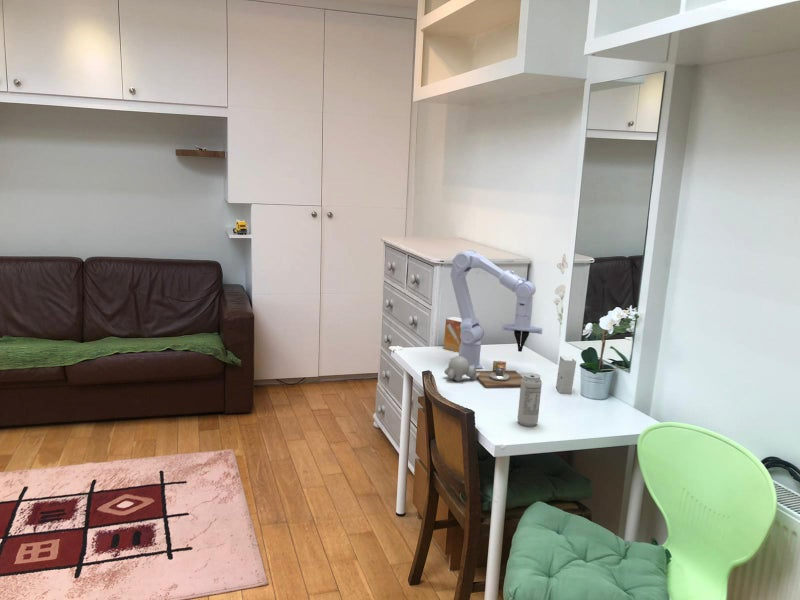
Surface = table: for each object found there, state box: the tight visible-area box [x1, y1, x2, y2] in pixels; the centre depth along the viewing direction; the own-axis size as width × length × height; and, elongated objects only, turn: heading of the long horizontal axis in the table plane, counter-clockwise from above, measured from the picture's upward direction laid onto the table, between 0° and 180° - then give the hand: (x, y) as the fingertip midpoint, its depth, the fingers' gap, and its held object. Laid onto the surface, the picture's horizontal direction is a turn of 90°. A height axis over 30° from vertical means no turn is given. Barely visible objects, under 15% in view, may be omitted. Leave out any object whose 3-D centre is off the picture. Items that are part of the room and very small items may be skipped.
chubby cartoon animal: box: [444, 355, 479, 382], centre depth 240 cm, size 7×12×8 cm, turn 98°
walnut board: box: [475, 360, 524, 389], centre depth 242 cm, size 16×17×5 cm
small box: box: [443, 316, 462, 353], centre depth 280 cm, size 8×6×13 cm
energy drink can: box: [517, 372, 543, 427], centre depth 202 cm, size 6×6×15 cm
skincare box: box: [555, 355, 577, 395], centre depth 234 cm, size 6×4×12 cm
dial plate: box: [489, 360, 509, 380], centre depth 243 cm, size 12×7×4 cm, turn 167°
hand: (519, 350), depth 248 cm, fingers closed
